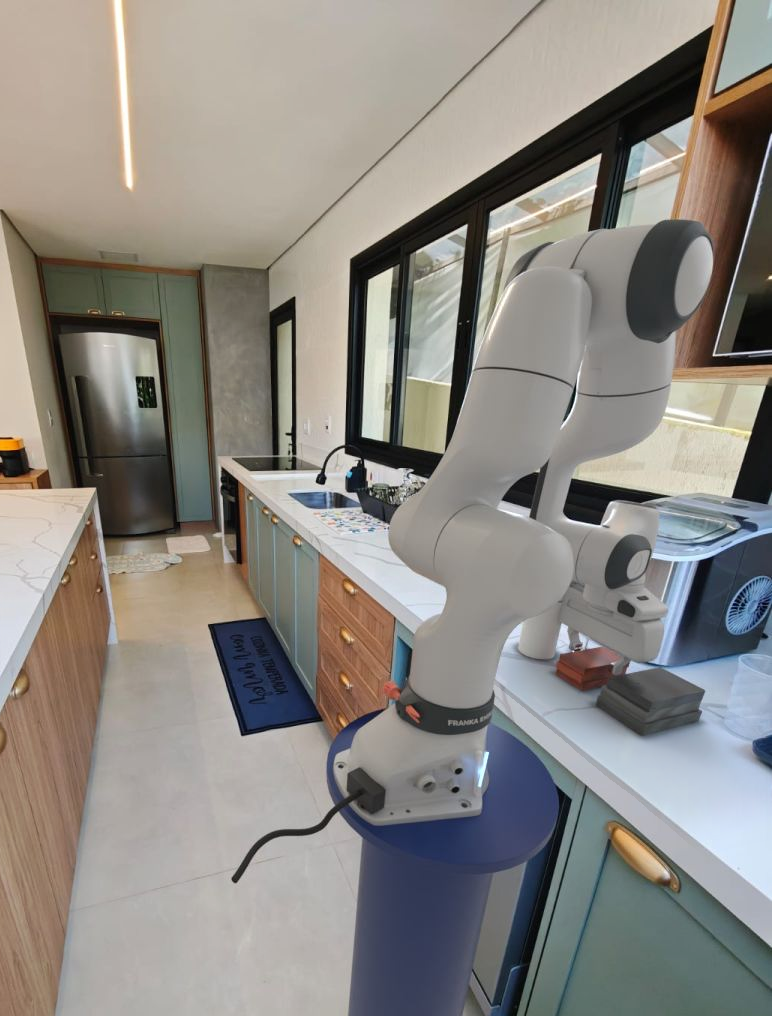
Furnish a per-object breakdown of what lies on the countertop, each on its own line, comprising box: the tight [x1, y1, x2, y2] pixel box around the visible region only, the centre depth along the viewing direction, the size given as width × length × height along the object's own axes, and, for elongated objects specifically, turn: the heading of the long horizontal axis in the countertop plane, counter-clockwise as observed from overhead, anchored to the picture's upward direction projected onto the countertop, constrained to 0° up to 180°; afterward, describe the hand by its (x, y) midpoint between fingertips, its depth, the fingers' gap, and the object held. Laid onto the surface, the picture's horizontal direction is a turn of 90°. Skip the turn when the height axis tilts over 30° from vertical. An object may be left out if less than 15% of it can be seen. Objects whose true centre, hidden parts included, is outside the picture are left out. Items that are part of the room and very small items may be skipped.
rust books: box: [555, 660, 628, 692], centre depth 95 cm, size 11×6×3 cm, turn 110°
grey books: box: [595, 666, 706, 737], centre depth 84 cm, size 13×9×6 cm
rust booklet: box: [558, 645, 631, 676], centre depth 94 cm, size 11×6×2 cm, turn 110°
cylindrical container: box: [517, 597, 563, 660], centre depth 101 cm, size 7×7×25 cm
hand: (593, 661), depth 94 cm, fingers open, 8 cm apart
